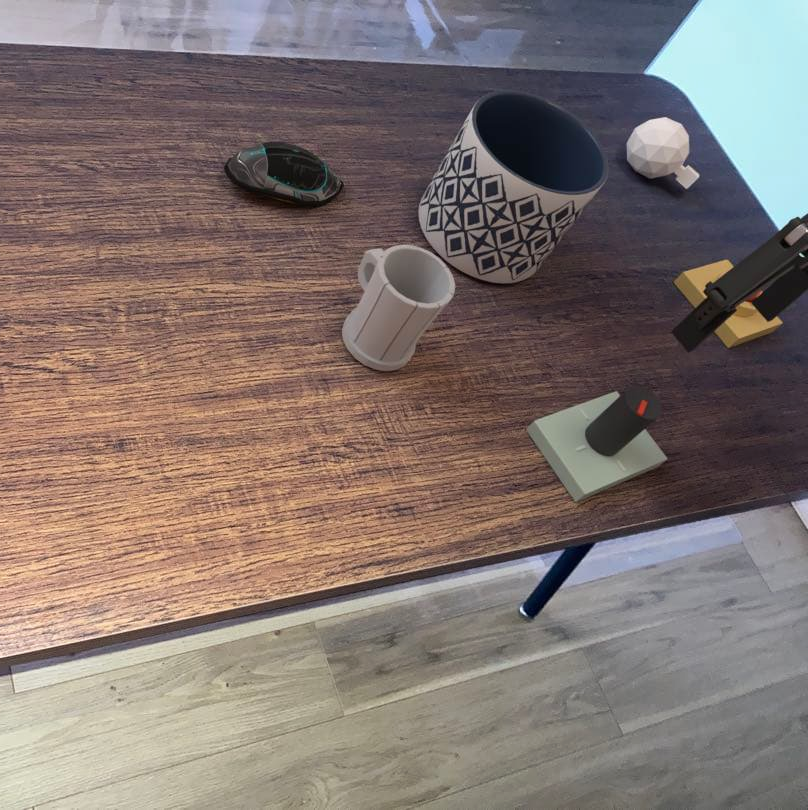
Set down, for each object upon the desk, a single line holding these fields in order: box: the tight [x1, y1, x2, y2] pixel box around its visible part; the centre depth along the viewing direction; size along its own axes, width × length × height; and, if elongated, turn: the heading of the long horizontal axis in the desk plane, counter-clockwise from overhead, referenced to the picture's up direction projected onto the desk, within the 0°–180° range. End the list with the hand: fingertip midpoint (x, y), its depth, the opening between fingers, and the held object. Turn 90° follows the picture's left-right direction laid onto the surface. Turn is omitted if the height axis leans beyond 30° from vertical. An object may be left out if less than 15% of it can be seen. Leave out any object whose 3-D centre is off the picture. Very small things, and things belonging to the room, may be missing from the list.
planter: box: [417, 89, 609, 284], centre depth 115 cm, size 18×18×16 cm
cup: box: [341, 244, 456, 372], centre depth 101 cm, size 10×9×12 cm
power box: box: [673, 259, 784, 349], centre depth 126 cm, size 12×10×4 cm
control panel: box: [525, 390, 668, 503], centre depth 105 cm, size 14×10×2 cm
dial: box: [585, 385, 663, 456], centre depth 101 cm, size 4×4×8 cm
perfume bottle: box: [626, 116, 700, 190], centre depth 138 cm, size 9×9×12 cm
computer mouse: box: [223, 141, 345, 209], centre depth 114 cm, size 9×17×6 cm, turn 103°
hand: (722, 326), depth 94 cm, fingers open, 13 cm apart
